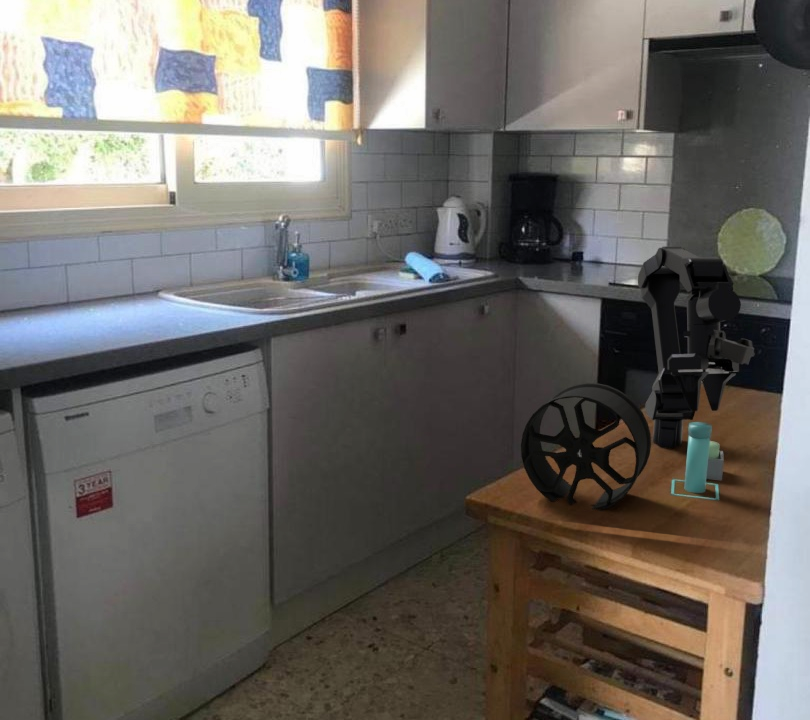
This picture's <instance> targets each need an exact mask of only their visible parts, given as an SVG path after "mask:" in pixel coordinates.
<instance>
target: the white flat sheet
mask: <svg viewBox="0 0 810 720" xmlns="http://www.w3.org/2000/svg"><path fill="white" fill-rule="evenodd" d="M676 482H684V483H685V479H684V480H683V479H675V478H672V479H671V489H670V491H671V492H670V495H671V496H680V497H687V498H696V499H704V500H714V501H720V494H719V492H720V491H719V484H718V483H711V482H706V485H712V486H714V488H715V498H714V497H707V496H706V497H704V496H697V495H688V494H681V493H680V494H679V493H675V483H676Z"/></svg>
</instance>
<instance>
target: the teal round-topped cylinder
mask: <svg viewBox="0 0 810 720" xmlns="http://www.w3.org/2000/svg"><path fill="white" fill-rule="evenodd" d="M712 428H713V427H712V425H711V424H710V423H707V422H701V421H695V422H694V421H692V422H689V423H688V439H687V450H686V451H687V452H686V463H685V475H684V480H685V482H684V486H683V489H684V490H685V491H686V492H688V493H691V494H703V493H705V492H706V490H707V489H706V486H707V484H706V483H707V479H706V478H707V467H708V456H709V445H710V441H711V437H712V431H713V429H712Z"/></svg>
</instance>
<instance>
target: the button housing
mask: <svg viewBox="0 0 810 720" xmlns="http://www.w3.org/2000/svg"><path fill="white" fill-rule="evenodd" d="M724 458H725V457H724V451H723V450H719V458H718V459H714V458H708V467H707V478H706V480H713V481H723V475H724V474H723V473H724V472H723V471H724V464H725V463H724V462H725V461H724Z"/></svg>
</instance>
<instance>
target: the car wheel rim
mask: <svg viewBox="0 0 810 720" xmlns="http://www.w3.org/2000/svg"><path fill="white" fill-rule="evenodd" d="M570 398H578V399H579V401H578V402H577V403H576V404H575V405H574V406H573V408H574V409H573V410H574V413H575V419H576V422H577V426H578V432H579V436H578V437H575V435H574V433H573V431H572V430H571V427H570V423H569V420H568V418H567V415H566V411H565V408H564V405H563V404H560V403H558V402H556V401H558V400H564V399H570ZM585 402H590V403H592V404H593V403H594V404H598V405H599V406H601V407H602V408H605V409H606V410H608V411H609V412H611V413H612V414H613V415H614V417H615V421H614V422H613V423H612V424H610V425H608V426H606V427H605V428H603V429H599V430H598V429H596V428H595V427H594V428H593V427H591V426H590V425H589V424H587V423H586V420H585V415H584V411H583V406H582V404H583V403H585ZM550 406H551V407H552V408H553V407H554V408H557V409H558V411H559V414H560V417H561V420H562V424H563V428H562V429H561V431H560V432H558V433H557V434H555V435H547V434H543V433H541V425H542V421H543V418H544V415H545V414H546V412H547V410H548V408H549V407H550ZM620 420H622V421H623V423H624V424H625V425H626V427H627V428H628V431H629V433H630V434H631V436H632V439H630V438H629V437H627V436H625V437H623V438H620V439H618V440H616V441H614V442H612V443H610V444H608V445H606V446H604V447H602V446H595V445H594V443H595V442H596V440H598V439H599V438H601V437H603V436H605V435H606V434H608V433H609V432H612V431H613V430H615V429H616V428H617V427H619V426H620V422H621V421H620ZM633 440H634V441H633ZM542 443H548V444H552V445H558V446H560V447H562V448H563V449H565V451H560V452H556V451H555V452H554V451H547V450H546V451H545V450H543V448H542V446H543V445H542ZM624 444H627V445H629V446H630V447H631V448H632V449H633V450H634V453H635V456H634V457H635V465H634V466H635V467H634V473H633V475H632V476H629V477H627V478H626V477H624V476H622V475H621V474H620V473H619V472H618V471H616V469H614V468H613V467H612V466H611V465H610V454H611V450H614V449H615V448H617V447H620V446H621V445H624ZM651 448H652V436H651V430H650V425H649V423H648V421H647V419H646V417H645V414H644V412H643V410H642V409H641V408H640V407H639V406H638V405H637V403H636V402H635V401H634V400H633V399H632V398H631V397H630V396H628V395H626V393H624V392H622V391H621V390H619V389H618V388H615V387H612V386H610V385H608V384H601V383H597V382H596V383H595V382H585V383H577V384H574V385H571V386H569V387H566V388H565V389H563V390H562V391H560V392H559V393H557V394H556V395H555V396H553V397H552V398H551V399H550V400H549V401H547V402H545V403H544V404H542V405H541V406H540V407H539V408H538V409H537V410H536V411H535V412H534V413H532V415H531V417H530V418H529V420H528V421H527V423H526V425H525V427H524V429H523V432H522V435H521V442H520V454H521V456H520V457H521V460H522V464H523V468H524V471H525V473H526V475H527V477H528V479H529V481H530V482H531V483H532V484H533V486H534V487H535V489H536V490H537V491H538V492H539V493H540V494H541V495H542V496H543V497H544V498H545V499H547V500H549V501H550V502H552V503H556V502H557V501H558V499H564V498H565V497H566V500H567V502H568V504H569V506H573V504H576V503H577V501H576V499H575V494H576V491H577V488H578V485H579V482H580V481H583V480H590V479H591V480H593V481H595V482H596V484H597V485H598V486H599V487H601V488H602V489H603V490H604V492H603V493H602V494H601V496H600V497H599V498H598V500H597V501H596V503H595V504H590V506H591V507H592V508H591V509H592V510H596V511H603V510H605V509H608V508H610V507H612V506H614V505H615V504H617V503H618V502H620V501H622V499H623V498H624V497H625V496H626V495H627V494H628V493H629V491H630V490H631V489H632V487H633V486H634V484H635V483H636V481H637V479H638V478H639V476H640V475H641V473H642V472H643V471H644V469H645V468H646V466H647V463H648V460H649V458H650V455H651ZM547 457H550V458H551V459H553V460H554V462H555V464H556V465H557V467H558V469H559V472H557V471H556V470H555V469H554V468H553V467H552V466H551V464H550V462H549V461H548V460H547ZM592 463H593V464H595V465H596V466H597V467H598V468H600V469H601V470H602V472H604V473H606V474H607V475H608V476H609V477H611V479H612V480H614V481H615V482H616V483H617V484H618V485H622V486H620V487H618V488H614V489H613V488H611V487H612V486H609V484H607V483H606V481H605V480H603V479H602V478H601V477H600V475H598V474H597V473H596V472H595V470H594V468H593V464H592ZM571 466H575V473H574V478H573V480H572V484H570V483H569V482H568V481H567V480H566V479H564V476H565V473H566V471H567V469H568V468H570V467H571Z"/></svg>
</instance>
